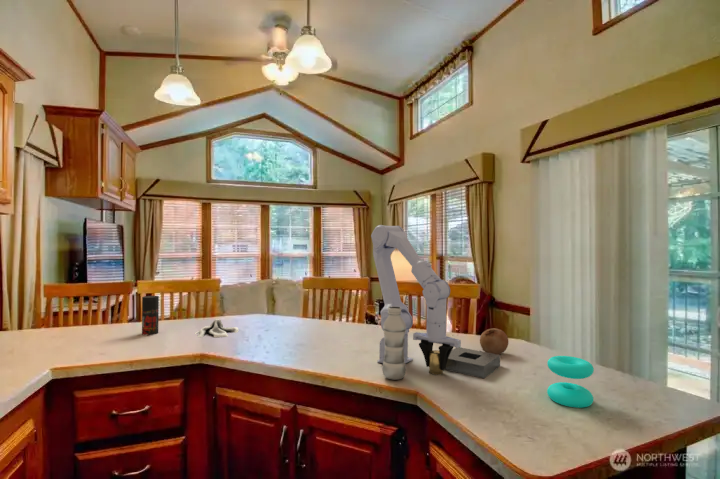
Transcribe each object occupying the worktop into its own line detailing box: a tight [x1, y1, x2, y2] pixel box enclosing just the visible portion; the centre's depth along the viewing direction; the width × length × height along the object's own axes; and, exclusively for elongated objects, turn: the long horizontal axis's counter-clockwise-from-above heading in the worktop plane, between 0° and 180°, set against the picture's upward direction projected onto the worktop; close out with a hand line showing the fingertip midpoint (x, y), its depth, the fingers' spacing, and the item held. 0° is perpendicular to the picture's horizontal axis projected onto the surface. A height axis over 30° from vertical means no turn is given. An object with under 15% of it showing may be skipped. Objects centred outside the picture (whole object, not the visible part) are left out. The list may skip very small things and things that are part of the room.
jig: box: [444, 347, 501, 379], centre depth 120 cm, size 14×14×4 cm
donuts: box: [546, 355, 595, 409], centre depth 96 cm, size 10×10×10 cm
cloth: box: [194, 318, 239, 338], centre depth 162 cm, size 22×19×6 cm
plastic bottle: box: [381, 306, 407, 380], centre depth 110 cm, size 6×7×20 cm
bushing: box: [428, 349, 444, 376], centre depth 115 cm, size 4×4×6 cm
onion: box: [479, 327, 509, 355], centre depth 135 cm, size 10×9×10 cm
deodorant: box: [141, 295, 160, 336], centre depth 160 cm, size 6×6×15 cm
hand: (435, 367), depth 115 cm, fingers closed on bushing, 4 cm apart
